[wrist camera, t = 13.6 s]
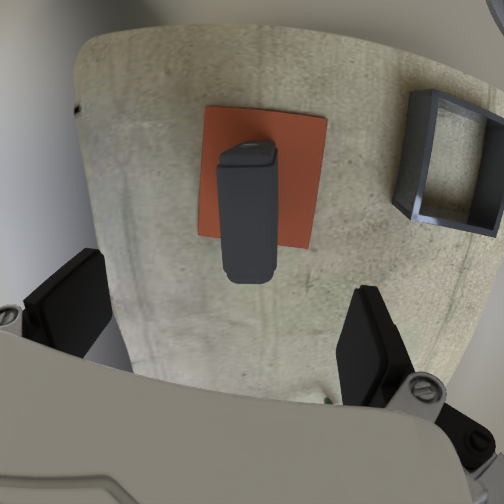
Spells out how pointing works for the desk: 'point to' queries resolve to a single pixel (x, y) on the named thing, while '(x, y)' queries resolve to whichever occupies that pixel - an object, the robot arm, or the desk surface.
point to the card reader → (249, 211)
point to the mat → (289, 165)
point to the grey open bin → (418, 158)
